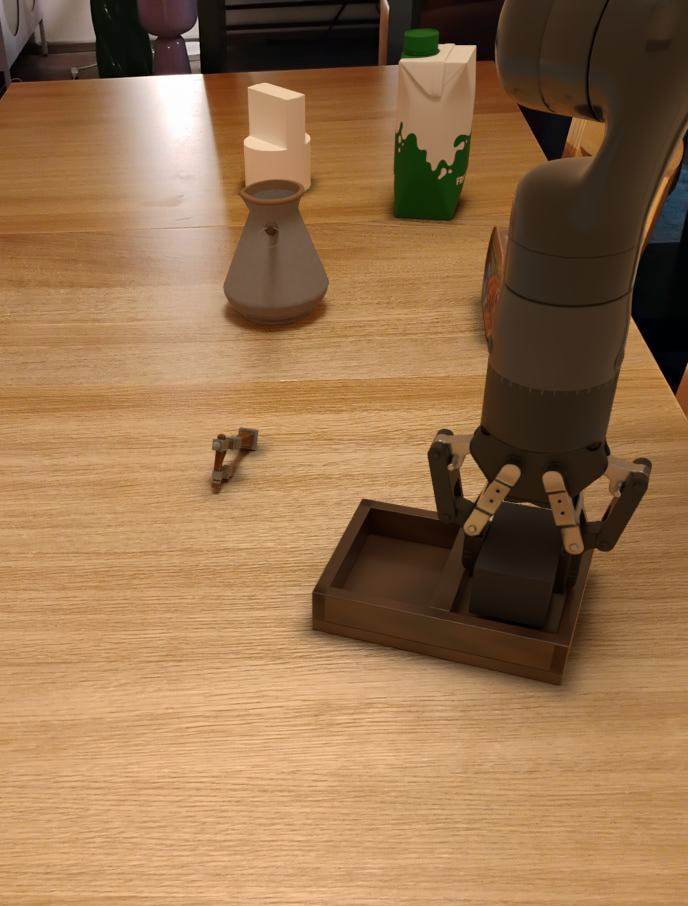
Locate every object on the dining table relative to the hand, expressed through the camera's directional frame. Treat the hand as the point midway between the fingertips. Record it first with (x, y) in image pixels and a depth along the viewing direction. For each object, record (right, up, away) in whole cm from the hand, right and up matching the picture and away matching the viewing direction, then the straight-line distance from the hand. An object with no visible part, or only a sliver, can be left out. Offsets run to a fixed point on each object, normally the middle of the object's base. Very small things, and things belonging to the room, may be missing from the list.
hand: (517, 577), depth 72 cm
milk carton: (+7, +51, +60) cm, 79 cm away
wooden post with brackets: (-19, +11, +19) cm, 29 cm away
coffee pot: (-14, +29, +38) cm, 50 cm away
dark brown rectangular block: (0, 0, 0) cm, 1 cm away
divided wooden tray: (-4, -2, +4) cm, 6 cm away
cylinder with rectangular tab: (-12, +58, +70) cm, 92 cm away
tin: (+9, +29, +36) cm, 47 cm away
